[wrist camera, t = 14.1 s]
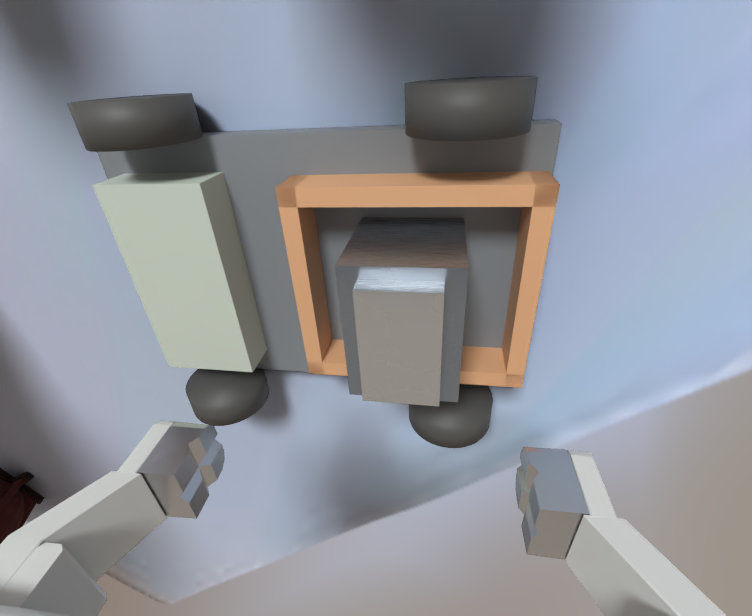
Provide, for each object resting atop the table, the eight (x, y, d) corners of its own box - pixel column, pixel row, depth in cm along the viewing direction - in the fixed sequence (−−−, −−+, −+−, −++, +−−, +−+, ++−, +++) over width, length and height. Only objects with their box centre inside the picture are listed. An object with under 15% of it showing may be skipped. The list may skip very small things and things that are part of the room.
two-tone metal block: (369, 327, 21) (345, 408, 16) (362, 217, 18) (328, 276, 13) (456, 331, 20) (458, 417, 15) (464, 217, 17) (469, 280, 12)
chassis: (199, 370, 27) (158, 420, 23) (97, 98, 18) (6, 107, 14) (509, 392, 23) (520, 454, 20) (562, 72, 15) (599, 76, 11)
